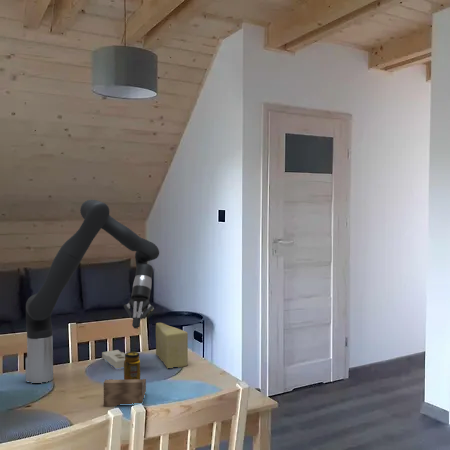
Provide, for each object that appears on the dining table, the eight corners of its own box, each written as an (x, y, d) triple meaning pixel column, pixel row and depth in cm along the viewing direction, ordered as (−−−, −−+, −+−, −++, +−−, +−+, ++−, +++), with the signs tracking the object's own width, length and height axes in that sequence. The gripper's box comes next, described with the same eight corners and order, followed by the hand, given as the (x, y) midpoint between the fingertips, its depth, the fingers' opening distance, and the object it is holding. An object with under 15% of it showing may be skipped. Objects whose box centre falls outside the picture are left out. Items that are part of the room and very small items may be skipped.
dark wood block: (103, 406, 172) (103, 382, 172) (109, 394, 183) (109, 372, 182) (142, 405, 173) (142, 382, 172) (145, 394, 183) (145, 372, 183)
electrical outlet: (117, 347, 228) (132, 358, 213) (117, 356, 228) (132, 367, 213) (102, 350, 225) (115, 361, 209) (102, 359, 225) (115, 370, 209)
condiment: (142, 381, 196) (142, 350, 195) (139, 389, 188) (139, 357, 187) (123, 381, 196) (123, 350, 195) (119, 389, 187) (119, 357, 187)
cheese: (147, 356, 229) (146, 322, 228) (167, 352, 234) (167, 320, 233) (167, 370, 210) (167, 333, 209) (188, 366, 214) (188, 330, 214)
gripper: (124, 283, 211) (117, 324, 203) (155, 285, 211) (150, 325, 202) (128, 290, 218) (121, 330, 209) (158, 292, 217) (153, 331, 208)
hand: (135, 327), depth 206 cm, fingers closed
